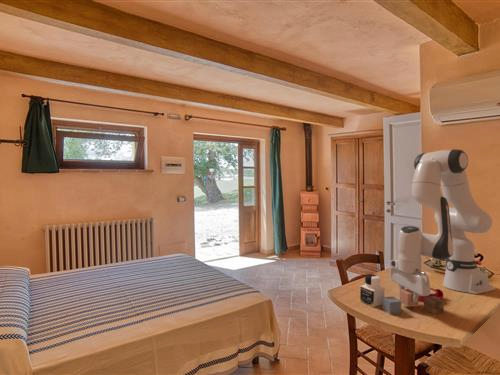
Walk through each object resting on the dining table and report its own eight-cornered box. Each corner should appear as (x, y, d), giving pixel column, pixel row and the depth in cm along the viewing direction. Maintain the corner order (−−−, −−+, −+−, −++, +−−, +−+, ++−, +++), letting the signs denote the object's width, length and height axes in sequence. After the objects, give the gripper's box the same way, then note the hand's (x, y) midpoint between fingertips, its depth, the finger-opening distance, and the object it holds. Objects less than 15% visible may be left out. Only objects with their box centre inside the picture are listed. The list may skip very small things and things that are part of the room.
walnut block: (434, 308, 132) (434, 296, 132) (443, 313, 128) (443, 301, 127) (423, 309, 132) (423, 297, 131) (432, 314, 127) (433, 302, 126)
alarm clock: (407, 290, 143) (424, 277, 151) (408, 303, 144) (425, 289, 152) (431, 297, 134) (447, 283, 142) (432, 311, 135) (448, 296, 143)
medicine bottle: (359, 301, 139) (360, 274, 138) (371, 298, 142) (371, 272, 142) (373, 307, 133) (373, 279, 132) (384, 304, 136) (385, 276, 136)
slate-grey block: (393, 308, 132) (393, 296, 132) (400, 313, 127) (401, 301, 127) (382, 309, 131) (382, 297, 131) (389, 314, 126) (390, 302, 126)
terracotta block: (410, 300, 136) (410, 288, 136) (418, 305, 131) (418, 293, 131) (399, 301, 135) (399, 289, 135) (407, 306, 130) (407, 294, 130)
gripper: (435, 273, 123) (434, 308, 123) (400, 259, 143) (399, 289, 143) (420, 274, 121) (420, 309, 122) (387, 259, 141) (387, 290, 142)
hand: (408, 298), depth 133 cm, fingers closed on terracotta block, 5 cm apart
